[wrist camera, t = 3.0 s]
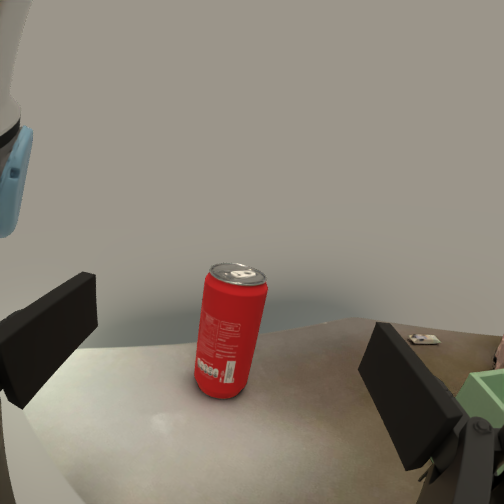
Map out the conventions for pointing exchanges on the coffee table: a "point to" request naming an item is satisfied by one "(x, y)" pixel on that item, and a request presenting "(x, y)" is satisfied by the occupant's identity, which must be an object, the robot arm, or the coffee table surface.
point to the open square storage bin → (484, 398)
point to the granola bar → (424, 339)
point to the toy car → (500, 356)
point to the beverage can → (228, 328)
